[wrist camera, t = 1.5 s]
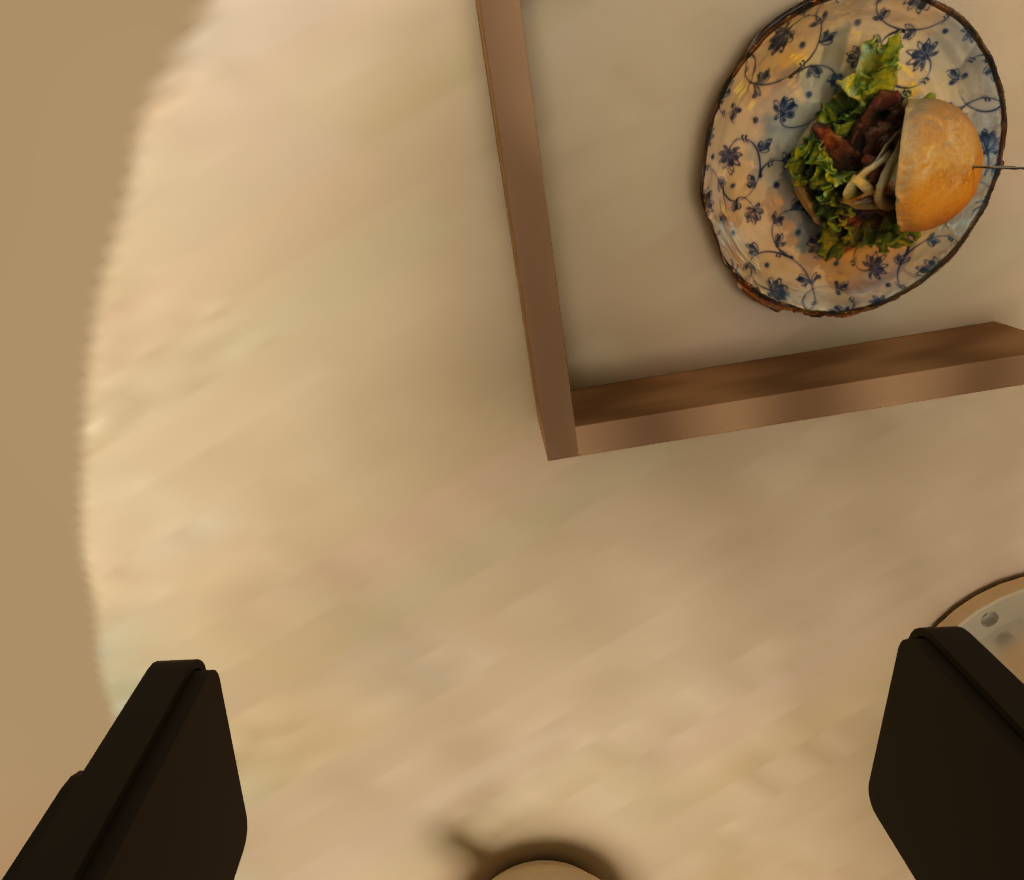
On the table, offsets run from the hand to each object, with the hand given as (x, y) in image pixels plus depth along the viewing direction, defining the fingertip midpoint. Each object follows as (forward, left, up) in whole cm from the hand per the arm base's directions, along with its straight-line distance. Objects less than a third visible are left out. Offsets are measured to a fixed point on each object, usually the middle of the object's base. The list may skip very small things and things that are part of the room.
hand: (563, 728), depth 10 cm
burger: (-14, -5, -23) cm, 27 cm away
